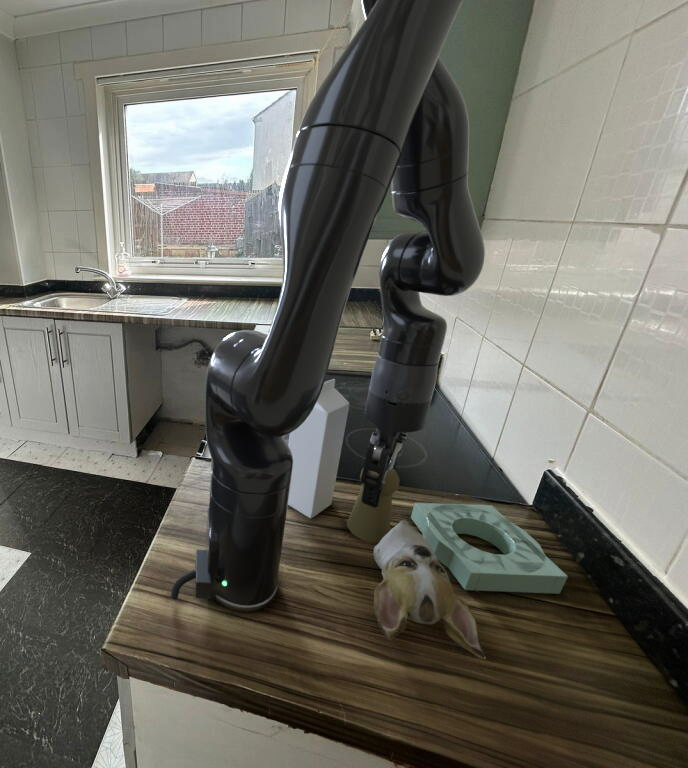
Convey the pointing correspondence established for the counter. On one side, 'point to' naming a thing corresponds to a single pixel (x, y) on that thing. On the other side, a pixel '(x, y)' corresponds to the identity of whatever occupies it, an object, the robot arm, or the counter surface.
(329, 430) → the milk
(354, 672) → the counter surface
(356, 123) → the robot arm
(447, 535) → the plate
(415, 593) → the dog head figure
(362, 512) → the cork
